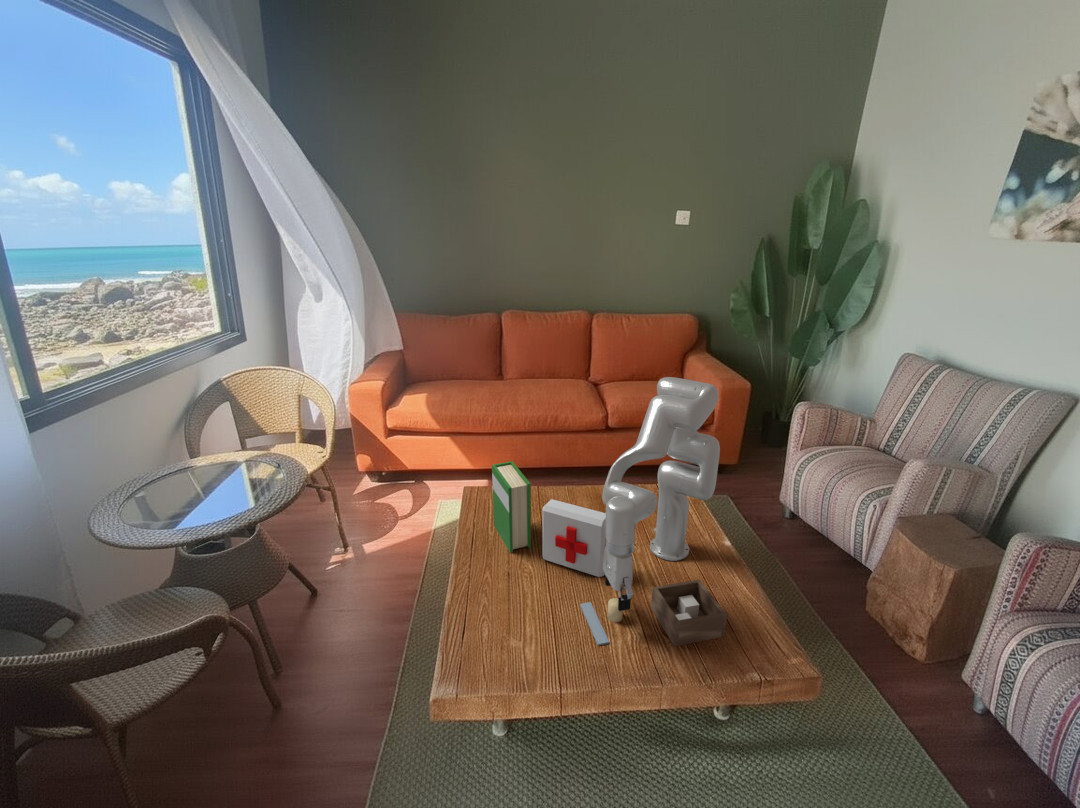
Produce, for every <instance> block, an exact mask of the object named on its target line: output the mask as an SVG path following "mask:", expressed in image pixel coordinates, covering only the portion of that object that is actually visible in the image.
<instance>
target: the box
mask: <svg viewBox="0 0 1080 808" xmlns="http://www.w3.org/2000/svg"><path fill="white" fill-rule="evenodd" d="M651 591H652V592H651V603H650V609H651V611H652V612H653V614H654V615H655V617H656V619H657V620H658V622H659V624H660V625H661V627H662V628H663V630H664V631H665V634H666V635H667V637H668V638H669V640H670V641H671V643H672V645H673V646H674V647H679V646H683V645H688V644H693V643H698V642H704V641H708V640H714V639H719V638H724V637H725V634H726V626H727V620H728V614H727V612H726V611H725V610H724V609H723V607H722V606H721V605H720V603H719V602H718V601H717V599H715V597H714V596H713V595H712V594H711V592H710V591H709V590H708V589H707V587H706V586H705V585H704V584H703V582H702V581H701V580H700V579H694V580H688V581H683V582H677V583H676V582H675V583H670V584H665V585H664V584H663V585H659V586H658V585H657V586H652V590H651ZM688 595H692V596H693V597H694V598H695V600H696V601H697V602H698V604H699V612H698V617H693V618H689V619H684V620H678V619H677V617H676V616H675V615H677V614H681V613H680V612H679V610H678V609H677V608H678V599H679V597H682V596H688Z"/></svg>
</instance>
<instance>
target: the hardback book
mask: <svg viewBox="0 0 1080 808" xmlns="http://www.w3.org/2000/svg"><path fill="white" fill-rule="evenodd" d="M491 474H492V475H491V477H492V479H491V480H492V482H491V483H492V501H493V503H492V505H493V526H494V528H495V530H496V531H497V533H498V535H499V536H501V537H500V538H501V539H502V542H503V541H504V542H503V543H504V545H505V547H506V549H507V548H508V549H507V551H508V552H509V553H510V554H512V553H511V552H514V551H513V550H516V549H517V550H518V549H520V548H525V547H527V549H528V548H529V549H531V548H532V515H531V514H532V504H531V503H532V495H531V493H532V490H531V489H532V488H531V487H532V485H531V482H530V481H529V480H528V478H526V476H525V475H524V473H522V471H521V470H520V469H519V468H518V466H517V465H516V464H515V463H514V461H512V460H511V461H505V462H500V463H499V462H498V463H496V464H495V463H494V464H491Z"/></svg>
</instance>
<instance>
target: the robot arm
mask: <svg viewBox="0 0 1080 808" xmlns="http://www.w3.org/2000/svg"><path fill="white" fill-rule="evenodd" d="M656 393H657V395H655V396H654V397H652V398H651V400H650V401H649V404H648V406H647V407H648V408H647V410H646V413H645V416H644V419H643V421H642V425H641V428H640V431H639V434H638V437H637V439H636V442H635V444H634V445H633V446H632V447H631V448H629V449H628V450H626V451H624V452H623V453H622V454H621V455H619V457H618V458H617V459H616V460H615V461H614V462H613V464H612V465H611V467H610V469H609V470H608V473H607V476H606V480H605V482H604V486H603V489H602V495H601V498H602V502H603V504H604V505H606V506H605V513H606V524H605V548H604V556H603V570H604V573H605V575H604V576H605V577H604V578H605V580H604V585H605V586H606V587H609V586H611V588H612V589H613V590H614V591H618V595H619V597H617V598H618V610H619V611H623V612H624V611H628V610H630V609H631V605H632V604H631V603H632V601H631V600H632V599H633V596H634V591H633V589H632V586H633V577H634V572H633V571H634V568H633V567H634V566H633V553H634V552H635V541H636V540H635V539H636V525H637V524H638V523H639V522H641V521H643V520H645V519H648V518H649V517H650V516H651V515H652V514H654V513H655V512H656V509H657V513H656V514H657V516H656V526H655V527H654V529H653V531H654V532H655V537H654V538H652V540H650V543H649V550H650V551H651V553H652V554H654V556H656V557H657V558H660V559H662V560H666V561H672V562H673V561H675V562H678V561H681V560H684V559H686V558H687V557H688V556H689V553H690V547H689V545H688V544H687V543H686V536H687V530H688V521H689V520H688V519H689V510H690V504H689V499H688V497H690V498H692V499H696V500H701V501H708V500H710V499H711V498H712V497H713V496H714V493H715V490H716V484H717V478H718V470H719V469H718V468H719V461H720V453H721V447H720V446H721V445H720V441H719V440H718V439H717V438H716V437H715V436H713V435H709V434H705V433H702V432H698V430H700V428H701V427H702V426H703V424H704V423H705V422H706V420H707V419H708V418H709V416H711V414H712V413H713V412H714V411H715V409H716V406H717V404H718V402H719V391H718V388H717V387H716V386H715V385H714V384H712V383H708V382H703V381H696V380H691V379H686V378H682V377H681V378H679V377H673V376H671V377H670V376H665V377H662V378H660V379H659V380H658V382H657V384H656ZM667 455H668V457H670V458H672V459H674V460H665V461H663V462H662V463H661V464H660V465H659V467H658V471H657V484H658V496H657V494H655V492H653V491H652V490H649V489H647V488H643V487H641V486H637V485H634V484H631V483H628V482H624V481H622V479H623V477H624V475H625V473H626V471H627V470H629V468H631V467H632V466H634V465H636V464H638V463H641V462H646V461H650V460H651V461H652V460H659V459H662V458H665V457H666V456H667ZM696 465H697V466H696ZM623 585H624V586H623ZM623 590H625V594H623Z"/></svg>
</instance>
